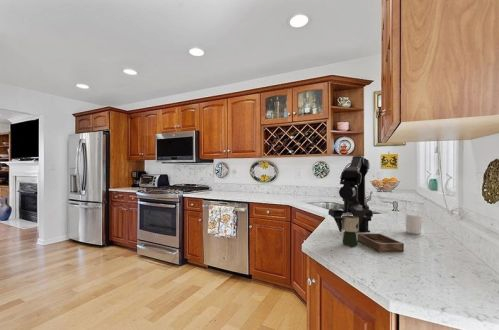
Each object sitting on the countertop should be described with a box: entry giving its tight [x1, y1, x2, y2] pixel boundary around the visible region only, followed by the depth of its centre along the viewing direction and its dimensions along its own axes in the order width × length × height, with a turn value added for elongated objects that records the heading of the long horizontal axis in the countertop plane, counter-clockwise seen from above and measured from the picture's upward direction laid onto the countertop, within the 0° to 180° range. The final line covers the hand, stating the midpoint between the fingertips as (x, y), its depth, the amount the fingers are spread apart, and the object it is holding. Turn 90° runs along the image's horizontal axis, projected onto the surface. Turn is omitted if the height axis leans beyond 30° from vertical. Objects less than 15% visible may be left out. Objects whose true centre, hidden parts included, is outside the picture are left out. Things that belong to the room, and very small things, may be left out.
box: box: [356, 232, 405, 253], centre depth 111 cm, size 12×16×4 cm
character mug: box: [341, 215, 359, 247], centre depth 111 cm, size 11×7×13 cm, turn 161°
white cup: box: [404, 212, 423, 235], centre depth 137 cm, size 8×8×10 cm
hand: (350, 231), depth 111 cm, fingers open, 9 cm apart
